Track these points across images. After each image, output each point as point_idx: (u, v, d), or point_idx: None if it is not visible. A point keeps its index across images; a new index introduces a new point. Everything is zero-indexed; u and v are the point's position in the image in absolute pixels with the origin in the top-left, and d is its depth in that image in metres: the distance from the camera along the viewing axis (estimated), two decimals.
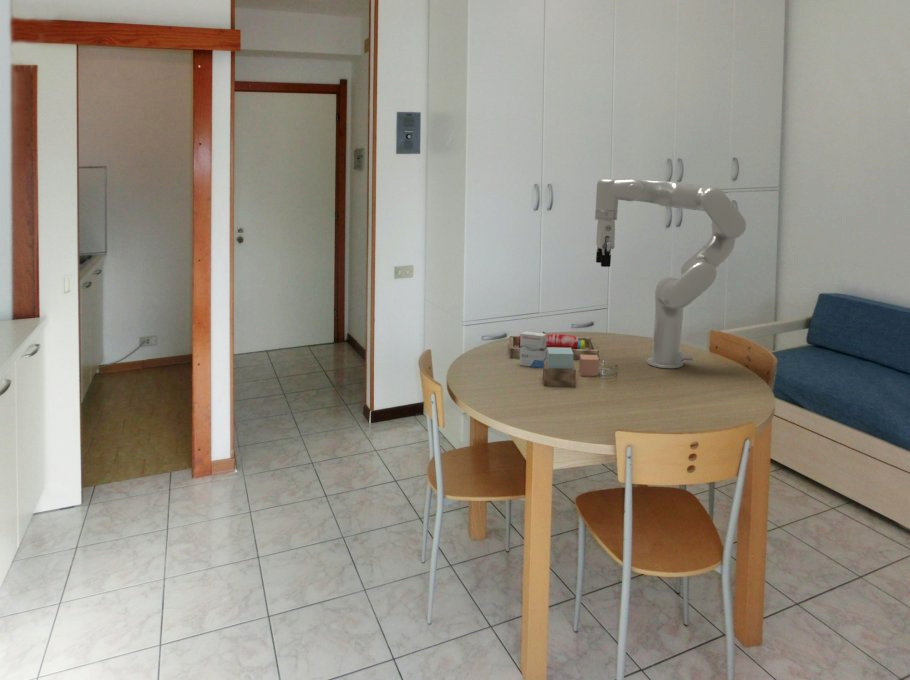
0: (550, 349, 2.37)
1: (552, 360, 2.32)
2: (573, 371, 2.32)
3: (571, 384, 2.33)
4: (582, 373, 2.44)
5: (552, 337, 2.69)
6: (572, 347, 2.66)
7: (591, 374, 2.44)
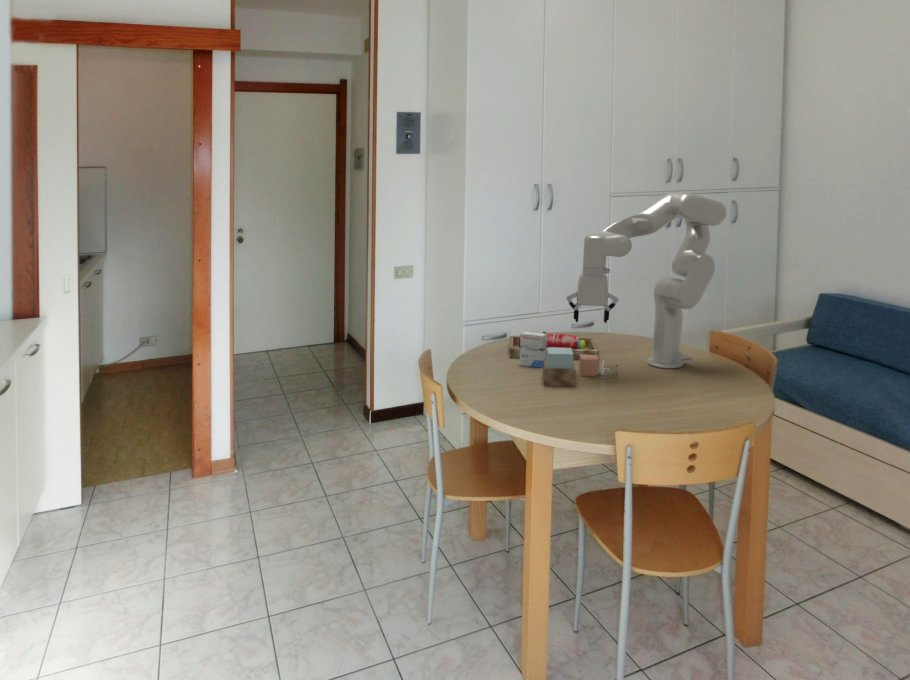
0: (550, 349, 2.36)
1: (551, 361, 2.32)
2: (573, 371, 2.31)
3: (571, 384, 2.33)
4: (582, 373, 2.44)
5: (552, 337, 2.70)
6: (572, 347, 2.67)
7: (591, 374, 2.44)
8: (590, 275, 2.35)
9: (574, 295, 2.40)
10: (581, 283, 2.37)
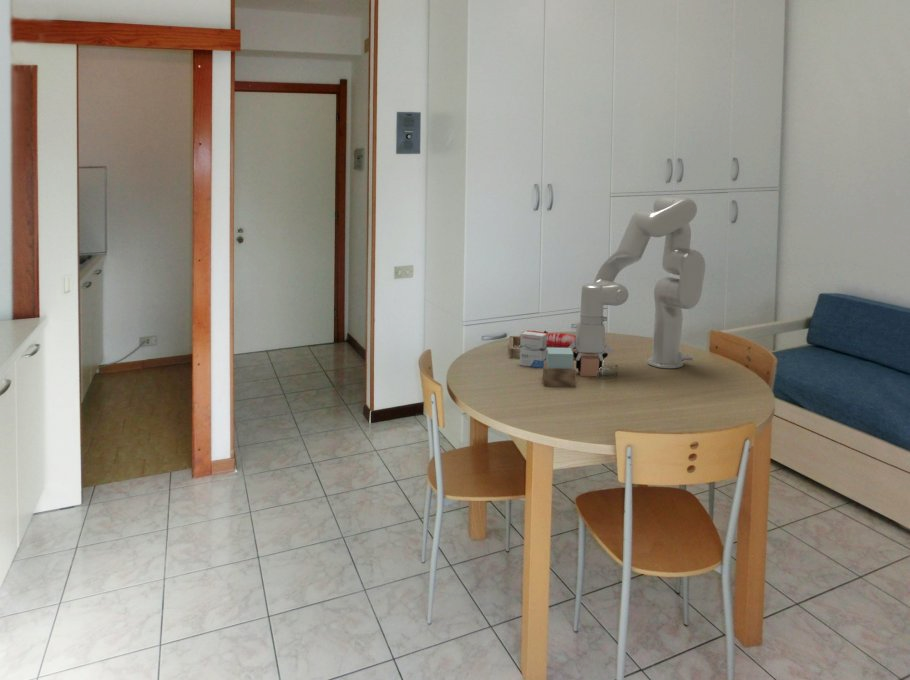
0: (550, 349, 2.36)
1: (551, 361, 2.32)
2: (573, 371, 2.31)
3: (571, 384, 2.33)
4: (582, 373, 2.44)
5: (552, 336, 2.71)
6: None
7: (591, 374, 2.44)
8: (588, 324, 2.39)
9: (573, 345, 2.44)
10: (579, 331, 2.41)
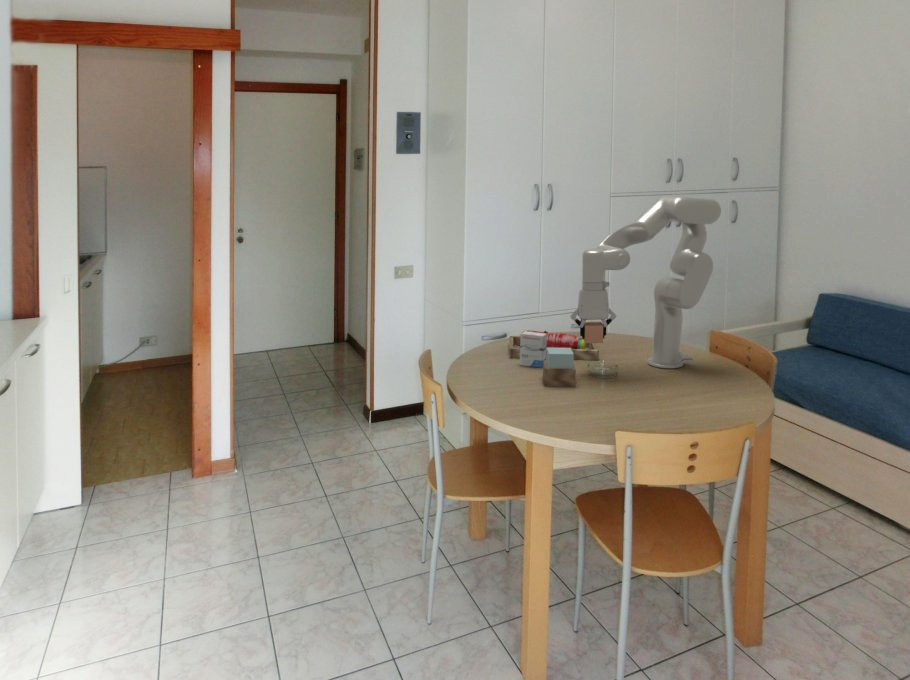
0: (550, 349, 2.36)
1: (552, 361, 2.32)
2: (573, 371, 2.31)
3: (571, 384, 2.33)
4: (586, 340, 2.41)
5: (552, 336, 2.71)
6: (572, 346, 2.67)
7: (595, 341, 2.41)
8: (590, 290, 2.36)
9: (577, 312, 2.41)
10: (581, 298, 2.39)
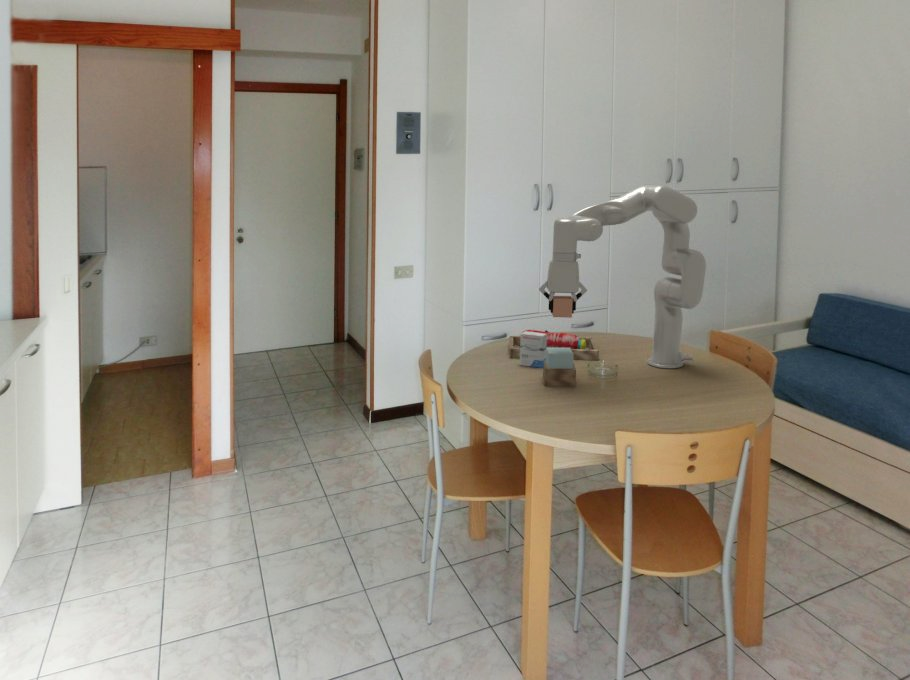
0: (549, 349, 2.36)
1: (552, 361, 2.32)
2: (573, 371, 2.31)
3: (571, 384, 2.33)
4: (554, 314, 2.29)
5: (553, 335, 2.72)
6: (572, 346, 2.68)
7: (564, 315, 2.29)
8: (560, 261, 2.25)
9: (546, 284, 2.30)
10: (551, 269, 2.27)
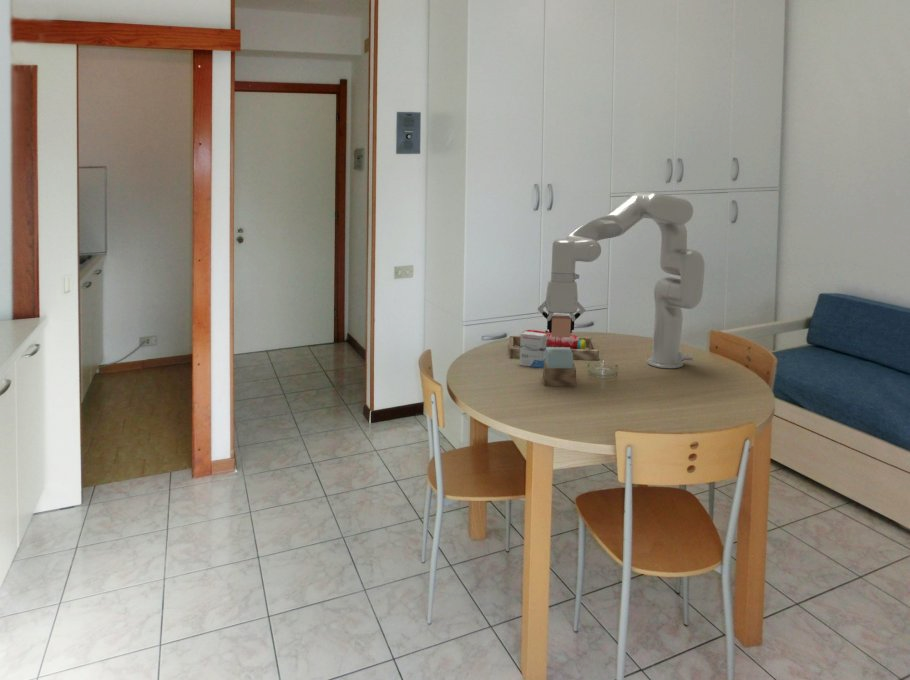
0: (549, 349, 2.36)
1: (551, 360, 2.32)
2: (573, 371, 2.32)
3: (571, 384, 2.33)
4: (553, 334, 2.31)
5: None
6: (571, 346, 2.68)
7: (562, 335, 2.31)
8: (558, 281, 2.26)
9: (544, 304, 2.31)
10: (549, 289, 2.28)
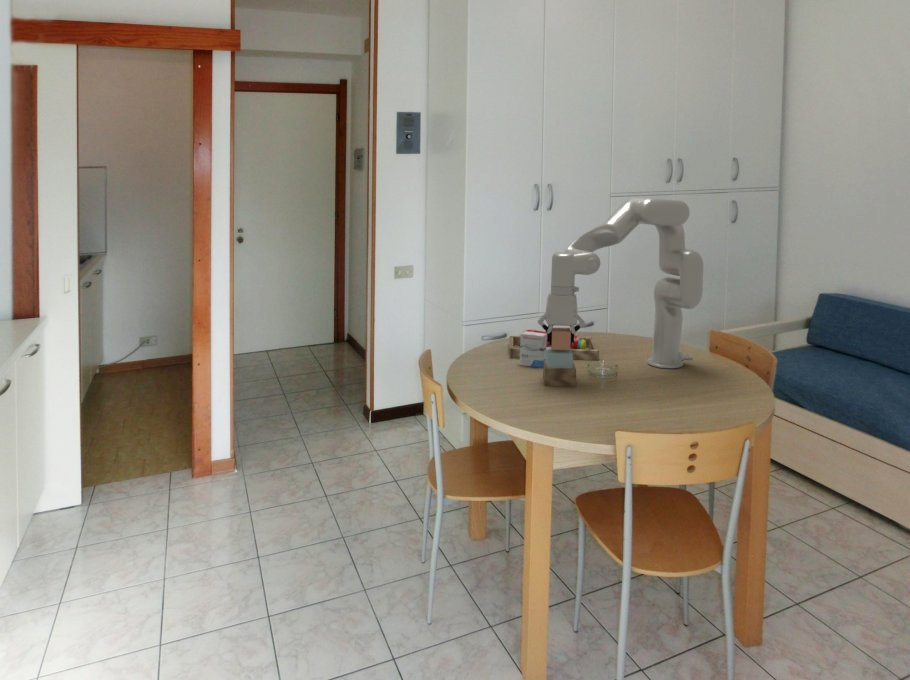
0: (549, 349, 2.37)
1: (551, 360, 2.32)
2: (573, 371, 2.31)
3: (571, 384, 2.33)
4: (553, 346, 2.32)
5: None
6: (572, 346, 2.68)
7: (562, 347, 2.32)
8: (558, 294, 2.27)
9: (544, 317, 2.32)
10: (549, 302, 2.30)
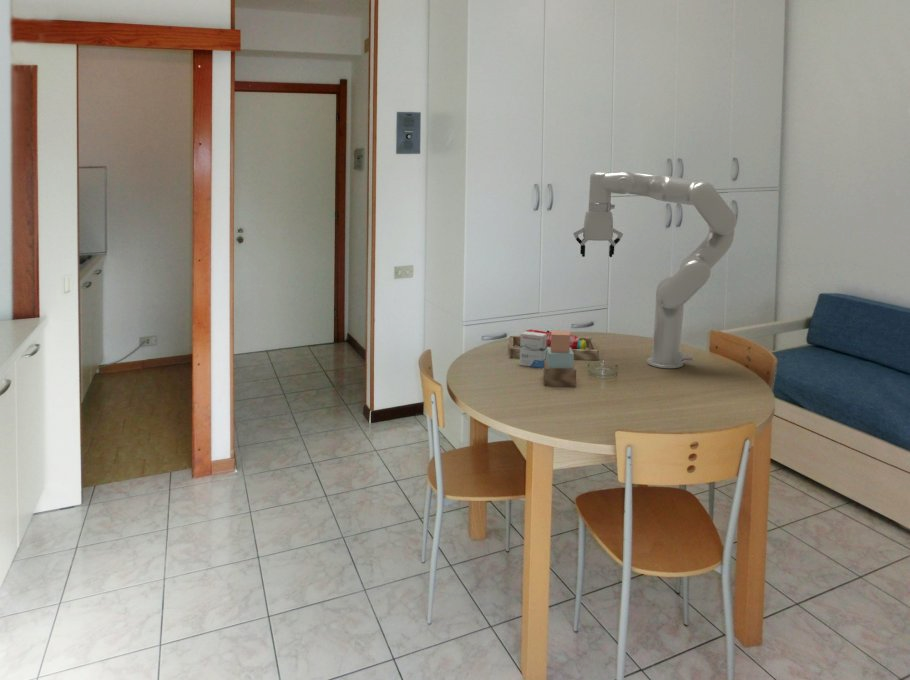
0: (550, 349, 2.37)
1: (552, 360, 2.32)
2: (573, 371, 2.32)
3: (571, 384, 2.33)
4: (552, 349, 2.33)
5: None
6: (571, 346, 2.67)
7: (562, 350, 2.32)
8: (596, 210, 2.47)
9: (581, 231, 2.52)
10: (587, 219, 2.50)
